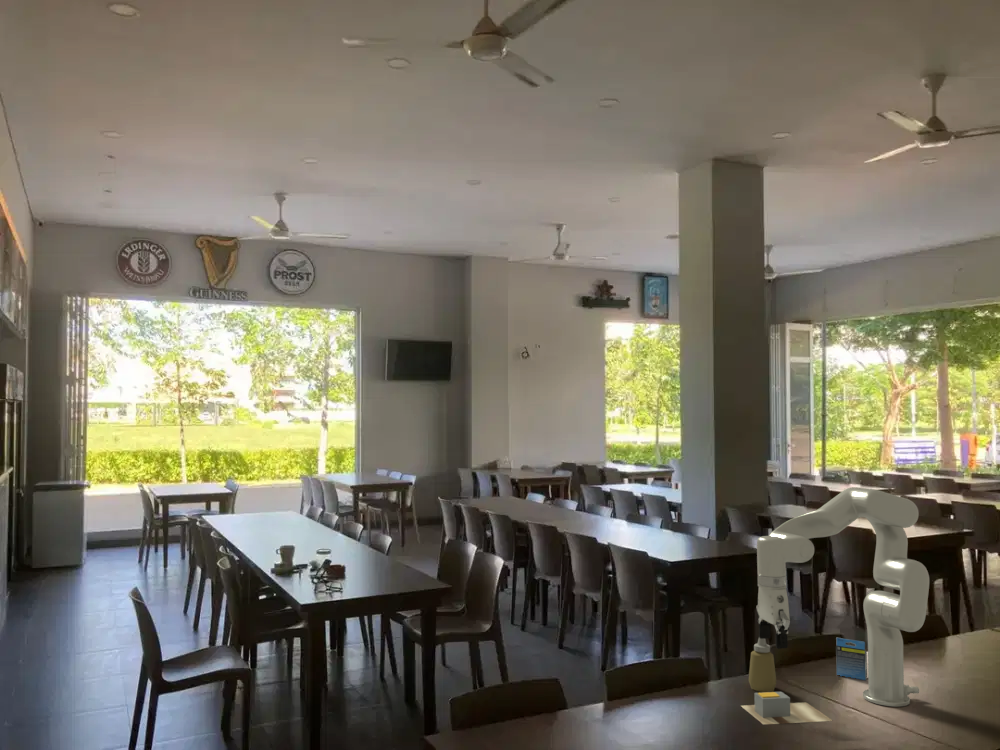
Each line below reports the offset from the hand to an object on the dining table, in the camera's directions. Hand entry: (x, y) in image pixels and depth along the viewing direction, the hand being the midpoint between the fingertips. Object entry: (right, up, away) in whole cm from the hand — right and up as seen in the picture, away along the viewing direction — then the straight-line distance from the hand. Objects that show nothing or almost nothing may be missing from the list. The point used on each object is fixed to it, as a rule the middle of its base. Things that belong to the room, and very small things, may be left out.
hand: (773, 643), depth 225 cm
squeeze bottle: (+3, -22, +19) cm, 29 cm away
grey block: (-1, -19, -2) cm, 19 cm away
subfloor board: (+3, -21, -1) cm, 21 cm away
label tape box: (+37, -23, +35) cm, 56 cm away
